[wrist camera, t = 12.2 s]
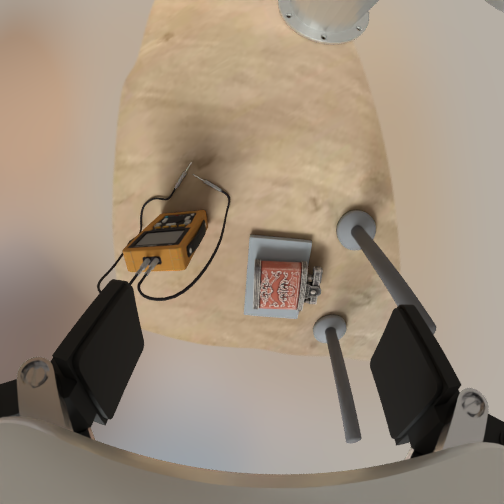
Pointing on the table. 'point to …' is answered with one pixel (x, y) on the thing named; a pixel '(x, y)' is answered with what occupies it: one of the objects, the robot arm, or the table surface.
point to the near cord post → (377, 258)
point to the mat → (273, 251)
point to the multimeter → (168, 243)
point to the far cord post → (339, 371)
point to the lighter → (285, 285)
